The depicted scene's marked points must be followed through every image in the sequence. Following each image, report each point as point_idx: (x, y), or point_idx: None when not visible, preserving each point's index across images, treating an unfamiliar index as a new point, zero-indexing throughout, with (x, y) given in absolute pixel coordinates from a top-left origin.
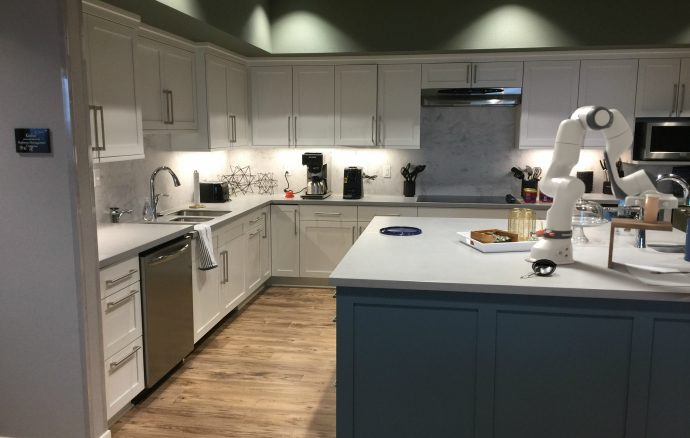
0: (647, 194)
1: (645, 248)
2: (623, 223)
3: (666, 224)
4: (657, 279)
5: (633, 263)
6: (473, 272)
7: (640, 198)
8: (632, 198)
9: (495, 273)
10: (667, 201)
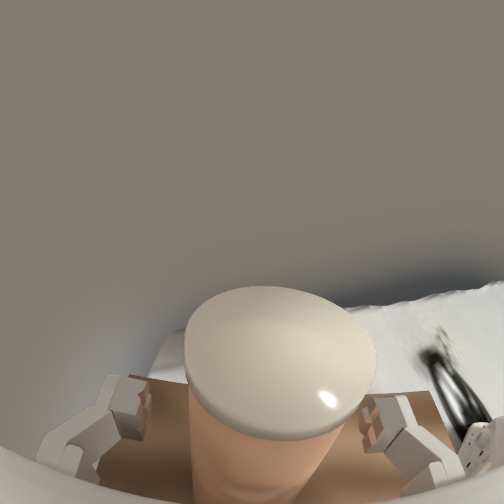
0: (350, 340)
1: None
2: (379, 394)
3: (137, 447)
4: None
5: None
6: (495, 330)
7: (426, 492)
8: (493, 470)
9: (478, 336)
10: (60, 444)
